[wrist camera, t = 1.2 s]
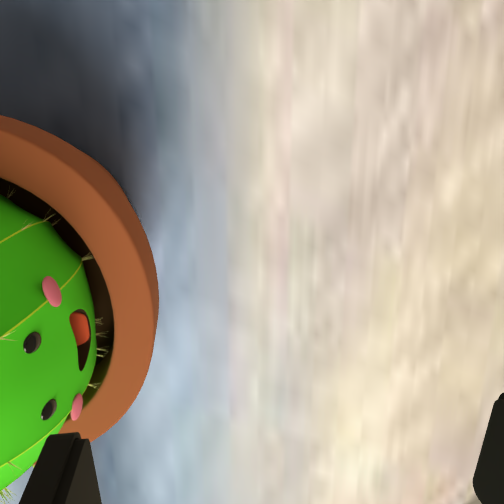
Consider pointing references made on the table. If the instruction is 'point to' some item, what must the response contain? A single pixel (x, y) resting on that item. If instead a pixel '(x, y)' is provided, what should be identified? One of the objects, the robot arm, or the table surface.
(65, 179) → the potted cactus
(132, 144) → the table surface
